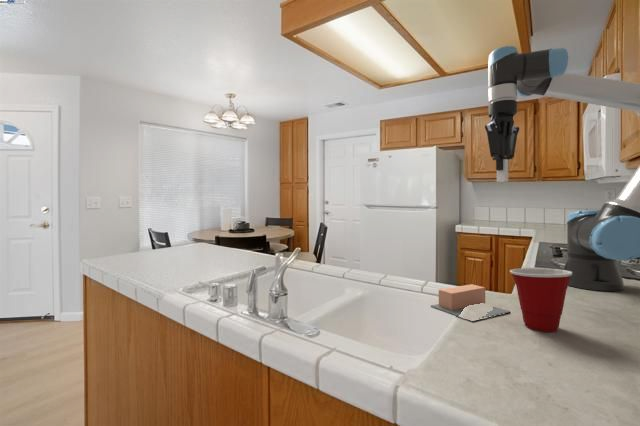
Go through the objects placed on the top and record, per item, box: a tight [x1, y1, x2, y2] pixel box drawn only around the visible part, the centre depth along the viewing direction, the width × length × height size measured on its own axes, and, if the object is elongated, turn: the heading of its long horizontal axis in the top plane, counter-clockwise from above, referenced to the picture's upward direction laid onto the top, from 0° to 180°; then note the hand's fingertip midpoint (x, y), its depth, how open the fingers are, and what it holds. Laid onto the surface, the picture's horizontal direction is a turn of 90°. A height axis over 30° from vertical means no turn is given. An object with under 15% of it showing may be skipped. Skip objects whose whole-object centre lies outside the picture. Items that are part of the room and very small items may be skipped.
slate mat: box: [430, 303, 511, 319], centre depth 79 cm, size 13×12×1 cm
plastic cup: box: [509, 267, 572, 333], centre depth 68 cm, size 11×11×12 cm
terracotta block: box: [438, 283, 486, 310], centre depth 82 cm, size 4×4×12 cm
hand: (502, 181), depth 98 cm, fingers closed
